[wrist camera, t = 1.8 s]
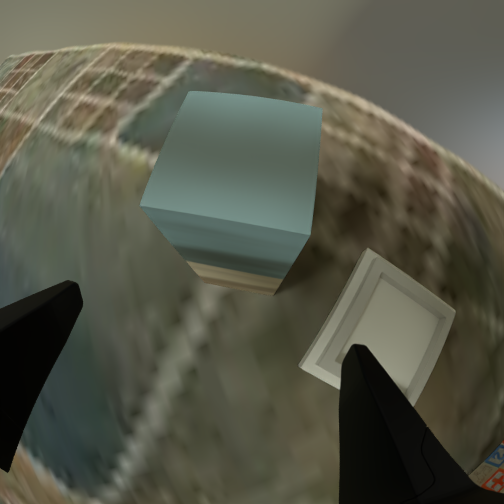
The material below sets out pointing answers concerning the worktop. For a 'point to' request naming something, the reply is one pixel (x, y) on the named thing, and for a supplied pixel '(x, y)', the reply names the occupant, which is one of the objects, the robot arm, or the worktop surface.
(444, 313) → the base plate
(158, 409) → the worktop surface
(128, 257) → the worktop surface
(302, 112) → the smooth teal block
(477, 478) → the stack of blocks
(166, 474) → the worktop surface
